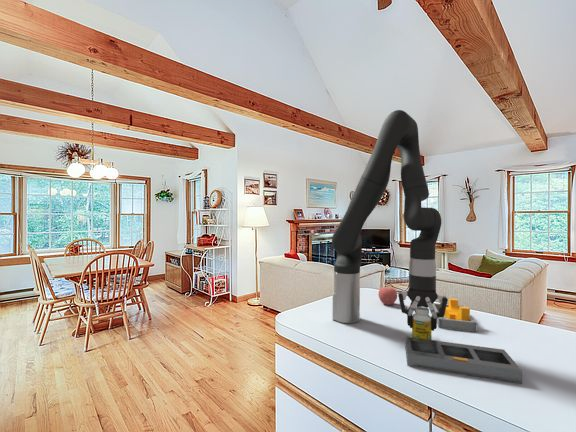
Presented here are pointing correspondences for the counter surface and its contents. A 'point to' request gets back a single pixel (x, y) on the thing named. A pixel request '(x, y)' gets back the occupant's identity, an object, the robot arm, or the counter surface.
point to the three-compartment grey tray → (462, 359)
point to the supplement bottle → (421, 323)
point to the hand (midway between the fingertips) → (421, 328)
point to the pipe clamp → (457, 311)
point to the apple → (387, 295)
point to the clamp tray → (455, 322)
